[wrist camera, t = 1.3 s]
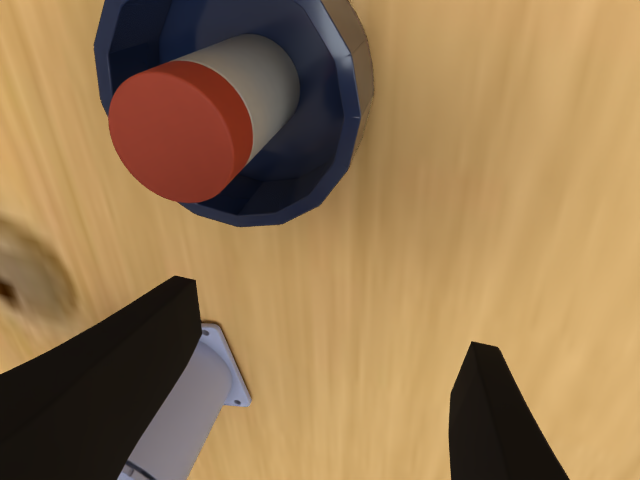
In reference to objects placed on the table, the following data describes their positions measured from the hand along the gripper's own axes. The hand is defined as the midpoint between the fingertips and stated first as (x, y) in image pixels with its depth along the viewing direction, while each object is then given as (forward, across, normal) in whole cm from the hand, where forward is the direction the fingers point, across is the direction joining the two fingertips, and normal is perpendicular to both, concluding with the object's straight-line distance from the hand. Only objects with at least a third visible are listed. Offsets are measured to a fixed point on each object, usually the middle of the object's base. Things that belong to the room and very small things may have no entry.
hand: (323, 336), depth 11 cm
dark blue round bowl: (+10, +6, -3) cm, 12 cm away
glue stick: (+10, +6, -3) cm, 12 cm away
